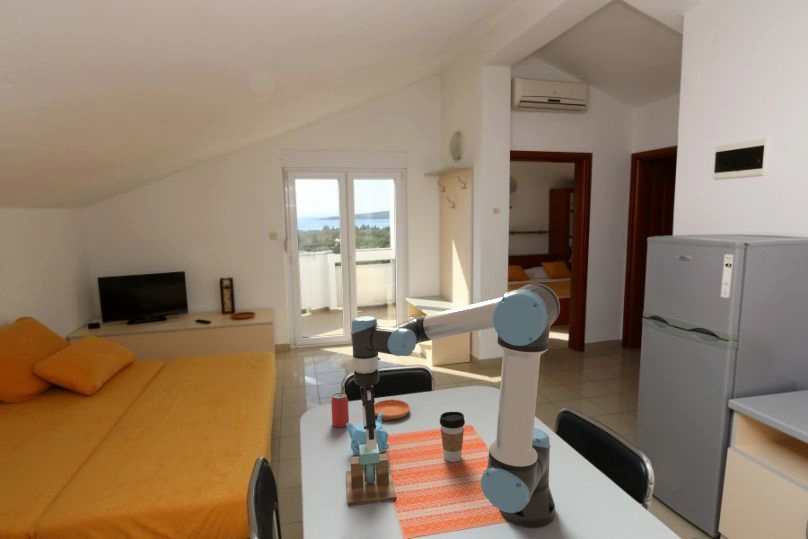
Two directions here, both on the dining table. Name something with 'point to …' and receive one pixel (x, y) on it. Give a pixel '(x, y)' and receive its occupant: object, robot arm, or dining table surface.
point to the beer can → (340, 410)
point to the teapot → (360, 436)
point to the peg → (369, 461)
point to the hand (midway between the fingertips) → (369, 437)
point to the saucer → (391, 409)
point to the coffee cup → (452, 435)
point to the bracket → (373, 491)
